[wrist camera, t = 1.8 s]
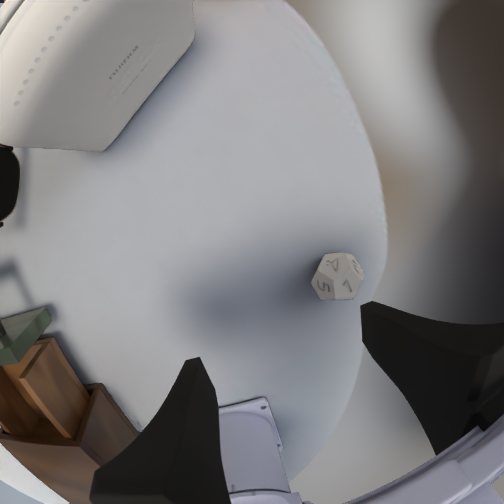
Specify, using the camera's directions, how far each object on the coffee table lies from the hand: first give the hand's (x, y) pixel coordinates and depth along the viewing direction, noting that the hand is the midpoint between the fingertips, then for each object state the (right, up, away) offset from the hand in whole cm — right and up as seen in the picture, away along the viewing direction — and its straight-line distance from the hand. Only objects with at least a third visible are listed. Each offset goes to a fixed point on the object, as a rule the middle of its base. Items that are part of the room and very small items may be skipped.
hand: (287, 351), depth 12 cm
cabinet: (-18, -14, +10) cm, 25 cm away
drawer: (-21, -4, +6) cm, 22 cm away
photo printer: (-9, +15, +3) cm, 18 cm away
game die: (+4, +3, +9) cm, 10 cm away
